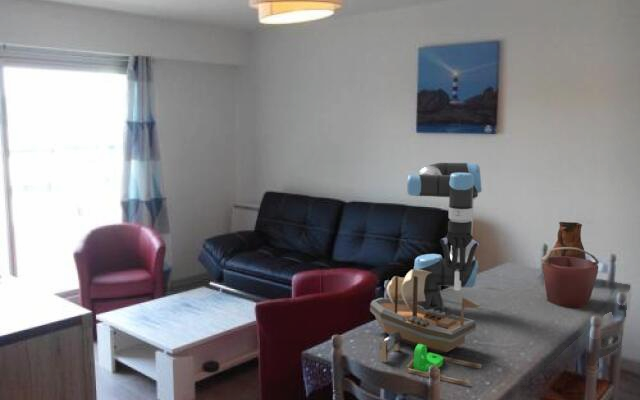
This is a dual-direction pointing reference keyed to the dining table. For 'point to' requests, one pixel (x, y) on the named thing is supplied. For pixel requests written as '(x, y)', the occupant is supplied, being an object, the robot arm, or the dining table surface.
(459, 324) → the sailing ship
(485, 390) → the dining table surface
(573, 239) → the pitcher
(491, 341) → the dining table surface
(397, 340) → the winch
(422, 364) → the mechanical part
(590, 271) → the bucket
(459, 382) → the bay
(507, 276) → the dining table surface
